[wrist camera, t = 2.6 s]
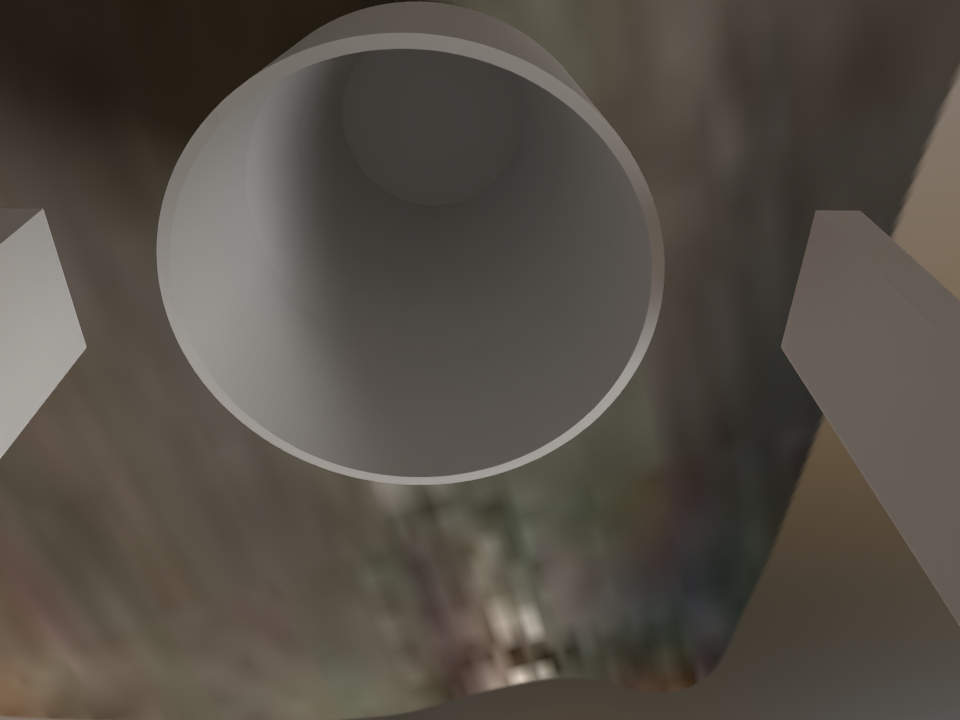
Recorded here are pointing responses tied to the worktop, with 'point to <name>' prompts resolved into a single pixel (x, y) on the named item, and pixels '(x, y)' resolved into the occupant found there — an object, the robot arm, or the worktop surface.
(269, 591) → the worktop surface
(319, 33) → the cup
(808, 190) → the worktop surface
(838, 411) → the robot arm
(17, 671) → the worktop surface
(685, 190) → the worktop surface
